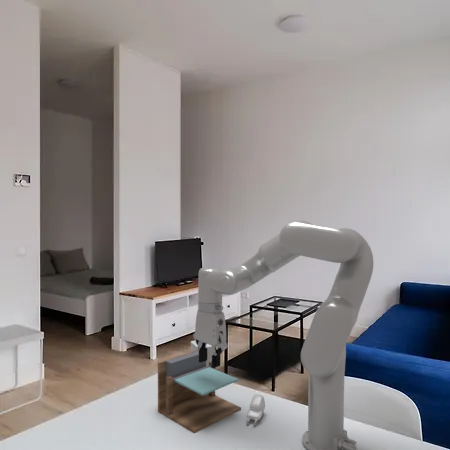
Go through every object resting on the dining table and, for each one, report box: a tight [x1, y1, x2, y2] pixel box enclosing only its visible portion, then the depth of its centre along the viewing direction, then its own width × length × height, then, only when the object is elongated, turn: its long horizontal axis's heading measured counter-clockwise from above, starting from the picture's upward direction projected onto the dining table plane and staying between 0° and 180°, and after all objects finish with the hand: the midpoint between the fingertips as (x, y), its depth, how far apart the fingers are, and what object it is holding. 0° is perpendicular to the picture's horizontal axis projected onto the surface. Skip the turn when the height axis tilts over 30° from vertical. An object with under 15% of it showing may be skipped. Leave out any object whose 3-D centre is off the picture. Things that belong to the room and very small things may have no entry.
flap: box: [166, 351, 239, 395], centre depth 129 cm, size 18×16×6 cm
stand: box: [157, 350, 242, 434], centre depth 130 cm, size 18×20×16 cm
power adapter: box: [246, 393, 266, 427], centre depth 124 cm, size 10×4×5 cm, turn 157°
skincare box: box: [189, 340, 213, 366], centre depth 150 cm, size 8×7×16 cm
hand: (209, 363), depth 126 cm, fingers open, 5 cm apart
